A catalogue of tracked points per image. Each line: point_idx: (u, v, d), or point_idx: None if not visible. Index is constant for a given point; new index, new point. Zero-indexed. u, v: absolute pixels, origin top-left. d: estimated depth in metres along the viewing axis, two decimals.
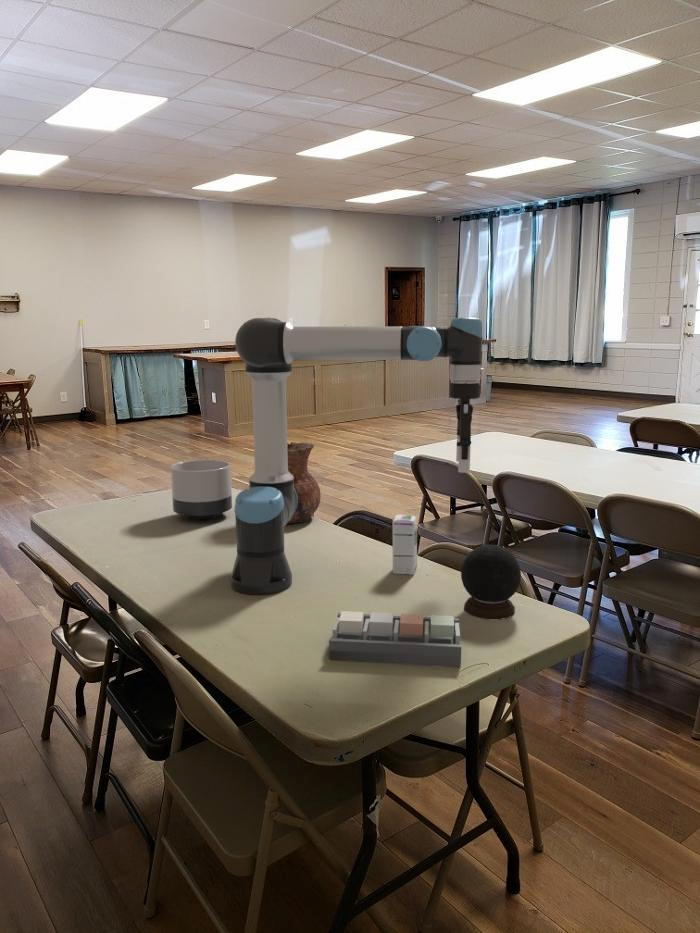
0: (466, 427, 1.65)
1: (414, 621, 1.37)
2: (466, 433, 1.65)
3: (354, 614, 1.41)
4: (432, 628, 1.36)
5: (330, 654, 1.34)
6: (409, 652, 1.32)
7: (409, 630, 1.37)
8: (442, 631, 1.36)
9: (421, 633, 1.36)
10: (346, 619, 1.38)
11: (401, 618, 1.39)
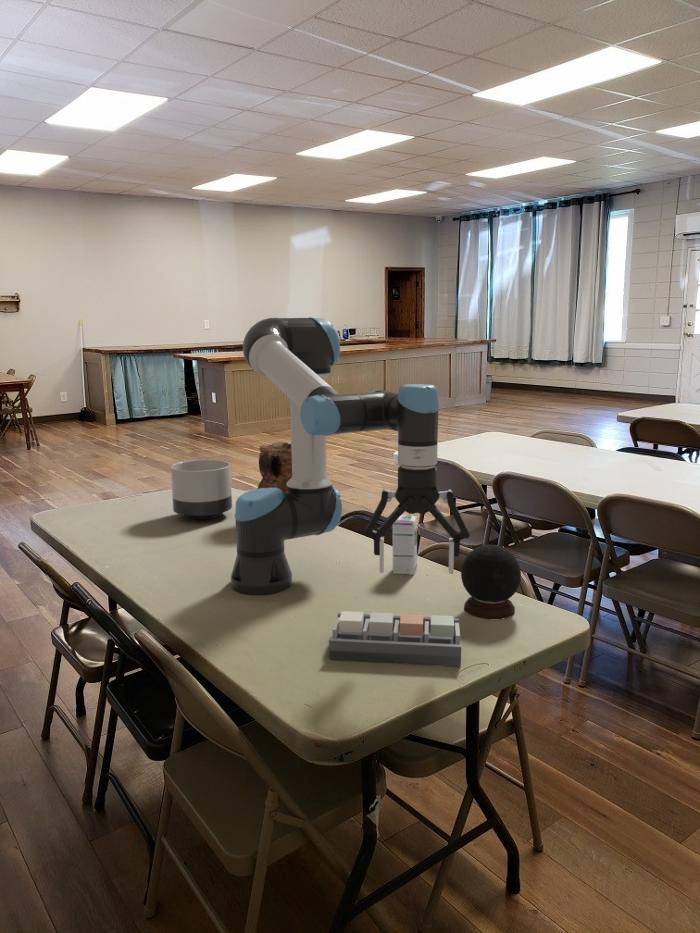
0: (373, 516, 1.36)
1: (414, 621, 1.37)
2: (369, 522, 1.37)
3: (354, 614, 1.41)
4: (432, 628, 1.36)
5: (330, 654, 1.34)
6: (409, 652, 1.32)
7: (409, 630, 1.37)
8: (442, 631, 1.36)
9: (421, 633, 1.36)
10: (346, 619, 1.38)
11: (401, 618, 1.39)
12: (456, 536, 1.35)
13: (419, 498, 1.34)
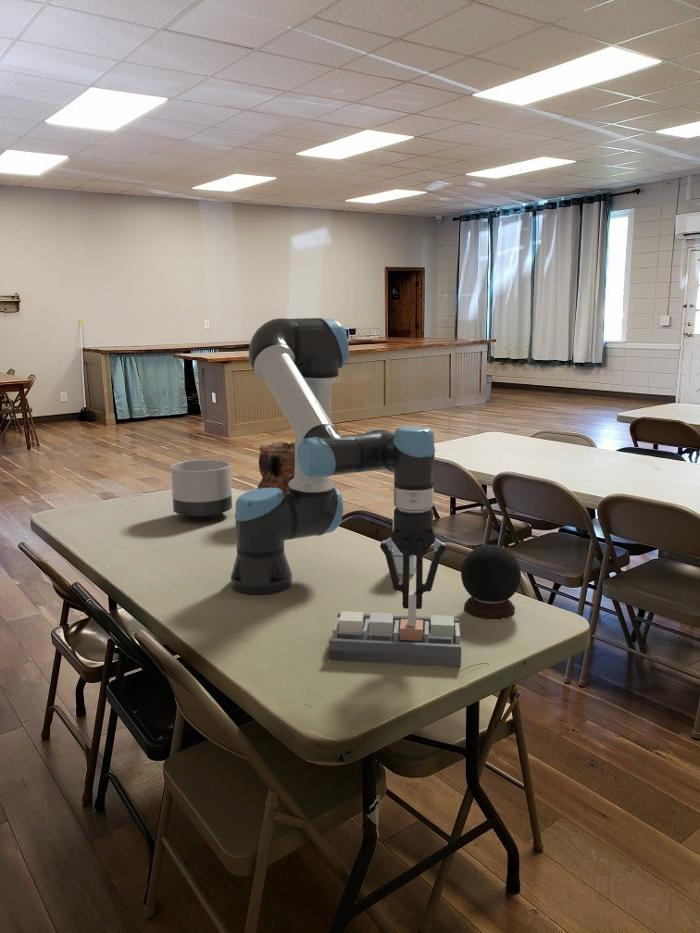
0: None
1: (414, 626, 1.38)
2: None
3: (354, 614, 1.41)
4: (432, 628, 1.36)
5: (330, 654, 1.34)
6: (409, 652, 1.32)
7: (409, 635, 1.37)
8: (442, 631, 1.36)
9: (421, 638, 1.37)
10: (346, 619, 1.38)
11: (401, 623, 1.39)
12: (420, 589, 1.36)
13: (417, 538, 1.34)
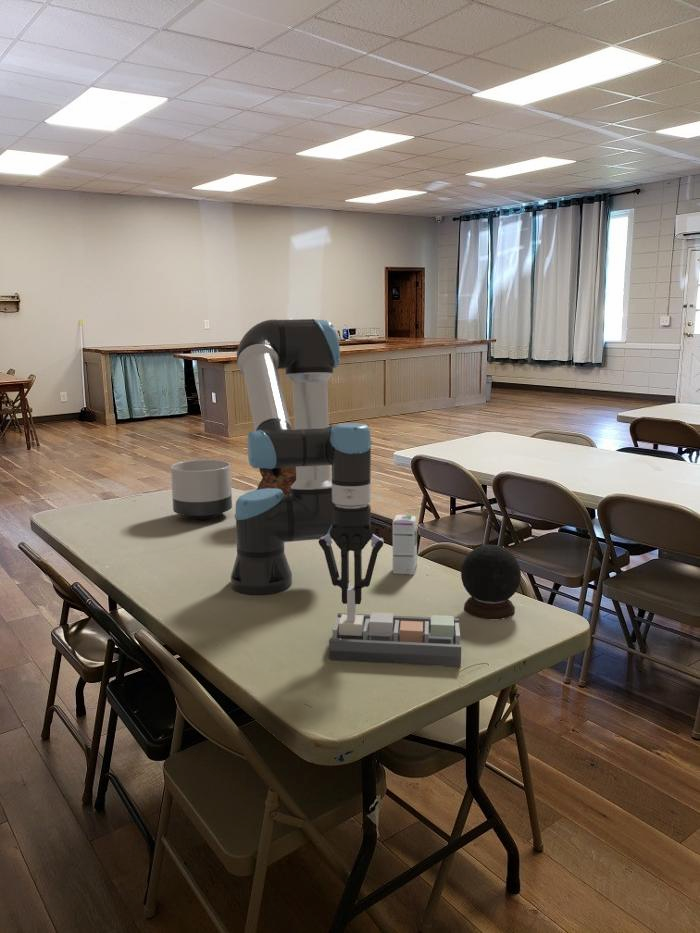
0: None
1: (414, 628, 1.38)
2: None
3: None
4: (432, 628, 1.36)
5: (330, 654, 1.34)
6: (409, 652, 1.32)
7: (409, 637, 1.37)
8: (442, 631, 1.36)
9: (421, 640, 1.37)
10: (346, 622, 1.38)
11: (401, 625, 1.39)
12: (358, 585, 1.37)
13: (354, 534, 1.35)
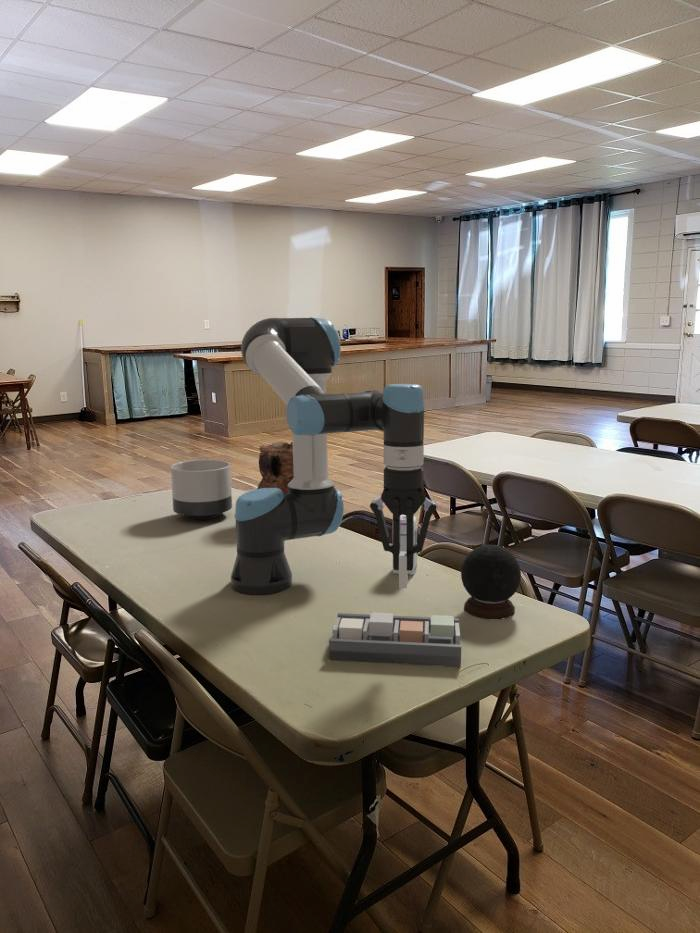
0: None
1: (414, 628, 1.38)
2: None
3: (354, 621, 1.41)
4: (432, 628, 1.36)
5: (330, 654, 1.34)
6: (409, 652, 1.32)
7: (409, 637, 1.37)
8: (442, 631, 1.36)
9: (421, 640, 1.37)
10: (346, 626, 1.39)
11: (401, 625, 1.39)
12: (410, 550, 1.34)
13: (407, 497, 1.32)
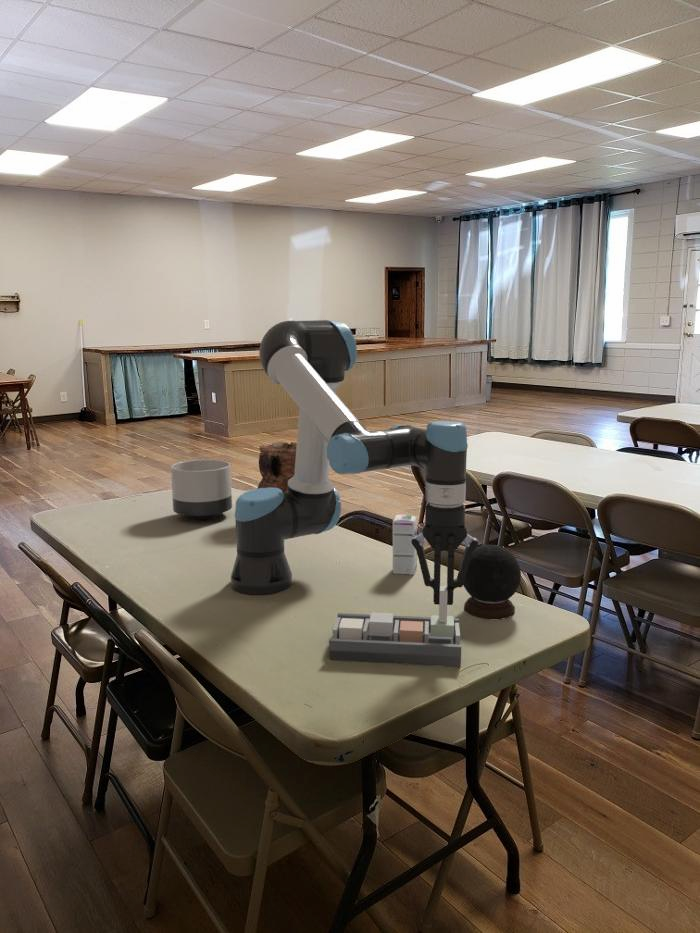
0: None
1: (414, 628, 1.38)
2: None
3: (354, 621, 1.41)
4: (432, 628, 1.36)
5: (330, 654, 1.34)
6: (409, 652, 1.32)
7: (409, 637, 1.37)
8: (442, 631, 1.36)
9: (421, 640, 1.37)
10: (346, 626, 1.39)
11: (401, 625, 1.39)
12: (451, 585, 1.35)
13: (448, 533, 1.33)
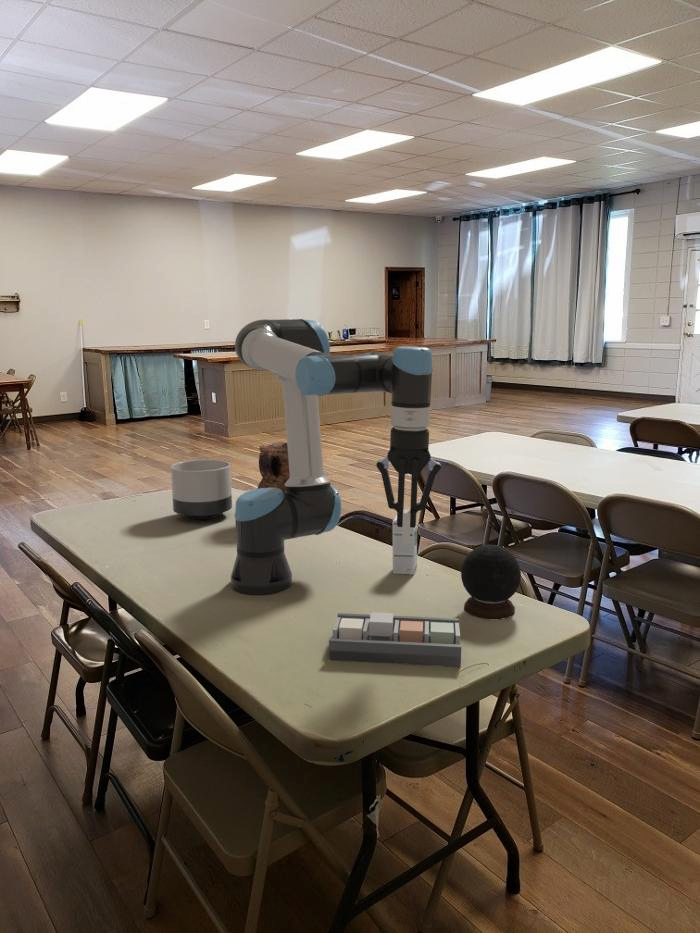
0: None
1: (414, 628, 1.38)
2: None
3: (354, 621, 1.41)
4: (432, 635, 1.36)
5: (330, 654, 1.34)
6: (409, 652, 1.32)
7: (409, 637, 1.37)
8: (442, 638, 1.36)
9: (421, 640, 1.37)
10: (346, 626, 1.39)
11: (401, 625, 1.39)
12: (414, 508, 1.39)
13: (412, 457, 1.36)
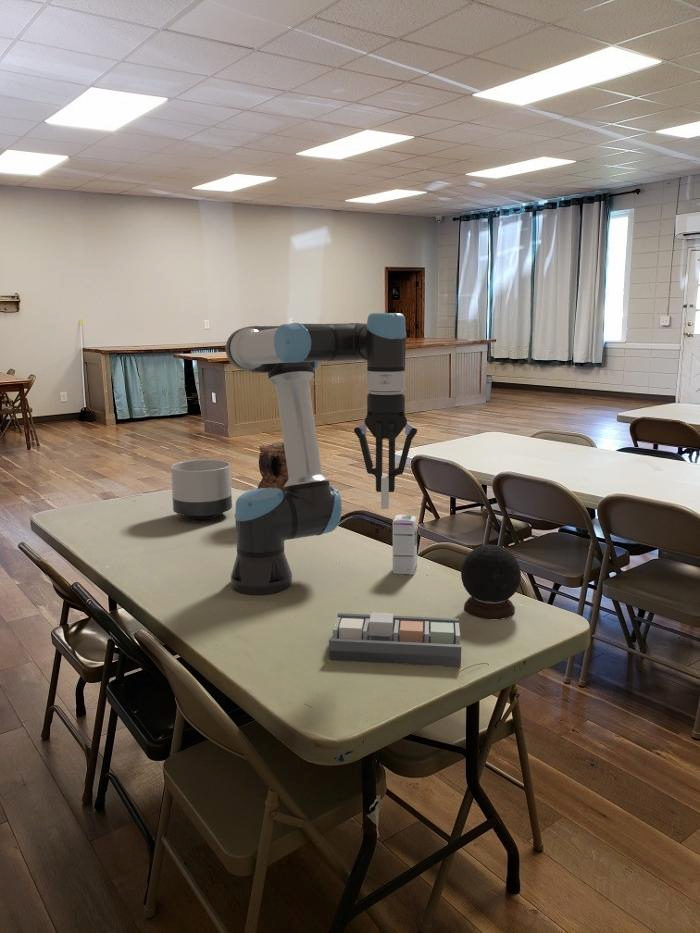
0: None
1: (414, 628, 1.38)
2: None
3: (354, 621, 1.41)
4: (432, 635, 1.36)
5: (330, 654, 1.34)
6: (409, 652, 1.32)
7: (409, 637, 1.37)
8: (442, 638, 1.36)
9: (421, 640, 1.37)
10: (346, 626, 1.39)
11: (401, 625, 1.39)
12: (392, 472, 1.41)
13: (389, 421, 1.39)
